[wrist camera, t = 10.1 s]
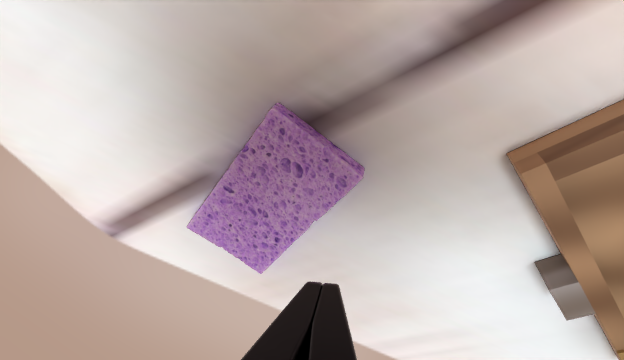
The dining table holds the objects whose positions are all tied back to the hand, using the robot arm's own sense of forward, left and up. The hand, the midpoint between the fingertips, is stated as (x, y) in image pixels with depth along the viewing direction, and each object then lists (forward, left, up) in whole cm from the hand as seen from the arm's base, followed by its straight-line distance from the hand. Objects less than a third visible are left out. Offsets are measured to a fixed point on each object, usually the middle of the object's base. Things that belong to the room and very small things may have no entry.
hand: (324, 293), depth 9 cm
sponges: (+7, -5, -14) cm, 16 cm away
